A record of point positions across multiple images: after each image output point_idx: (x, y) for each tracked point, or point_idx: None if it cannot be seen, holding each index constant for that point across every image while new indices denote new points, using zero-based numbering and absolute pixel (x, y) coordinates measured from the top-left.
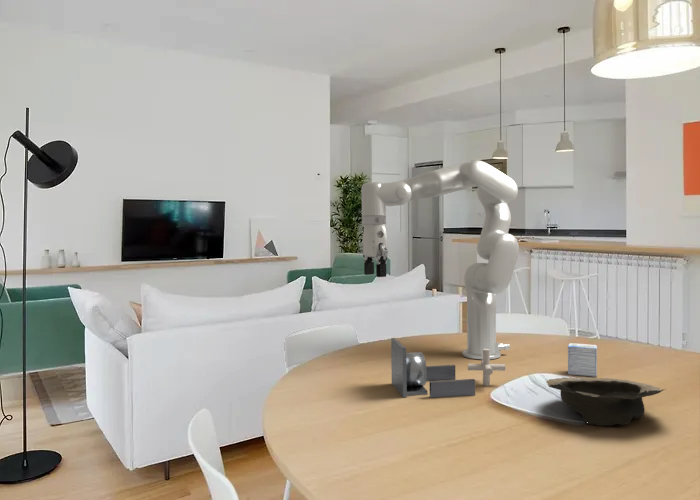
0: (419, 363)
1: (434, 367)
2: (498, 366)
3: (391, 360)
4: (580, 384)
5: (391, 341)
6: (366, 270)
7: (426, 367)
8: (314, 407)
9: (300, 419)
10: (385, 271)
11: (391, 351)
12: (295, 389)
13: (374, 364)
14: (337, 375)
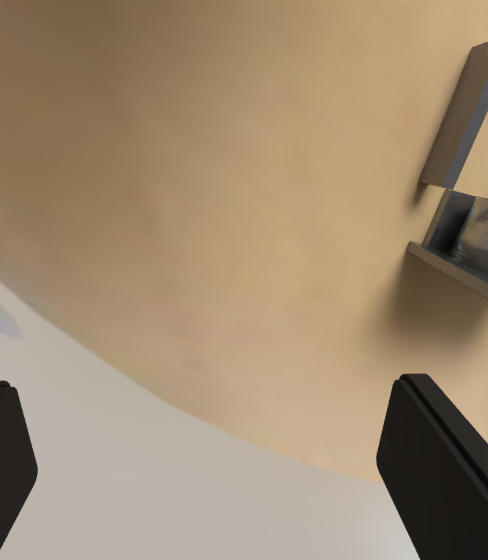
0: None
1: (480, 123)
2: None
3: (442, 271)
4: None
5: (486, 296)
6: (7, 514)
7: (468, 151)
8: None
9: None
10: (460, 427)
11: (460, 282)
12: (327, 437)
13: (202, 208)
14: (269, 339)
